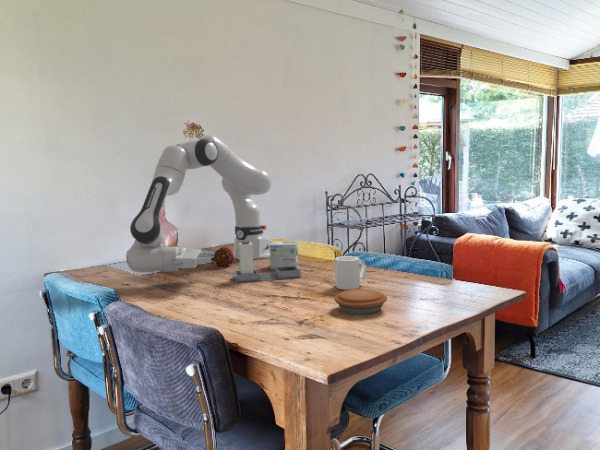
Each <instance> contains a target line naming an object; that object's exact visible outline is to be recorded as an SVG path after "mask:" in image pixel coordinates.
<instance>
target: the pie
mask: <svg viewBox="0 0 600 450" xmlns="http://www.w3.org/2000/svg"><path fill="white" fill-rule="evenodd" d="M333 299H334V301H335V302H336V304H338V306H339V308H340V309H341V311H343V313H346V314H350V315H371V314H372V315H373V314H375V313H379V311H380V310H381V309H382V307H383V305H384V304H385V303H386V302H387V300H388V297H387V295H385V294H383V293H382V292H380V291H378V290H372V289H364V288H363V289H361V288H360V289H359V288H356V289H348V290H343V291H341V292H340V293H338V294H337V295H335V296H334V297H333Z"/></svg>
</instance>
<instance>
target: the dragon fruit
mask: <svg viewBox="0 0 600 450" xmlns="http://www.w3.org/2000/svg"><path fill="white" fill-rule="evenodd" d="M233 253H234V251H232V249H230V248H228V247H225V246H222V247H220V248H219V249H217V250H215V251H214V253H213V257H212V258H211V262H215V265H216V266H218V267H221V266H222V267H228V266H229V265H233V262H234V260H235V258H234V255H233Z"/></svg>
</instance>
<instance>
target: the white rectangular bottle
mask: <svg viewBox="0 0 600 450" xmlns="http://www.w3.org/2000/svg"><path fill="white" fill-rule="evenodd" d="M238 261H239V270H240V275H242V274H254V269H255V268H254V259H253V244H252V243H251V242H249V241H242V243H239V259H238Z"/></svg>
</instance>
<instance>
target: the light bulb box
mask: <svg viewBox="0 0 600 450" xmlns="http://www.w3.org/2000/svg"><path fill="white" fill-rule="evenodd" d="M298 251H299V249H298V241H281V242H279V241H276V242H275V241H274V242H272V243H271V244H270V257H269V259H270V260H269V264H270V265H269V266H270V267H269V269H270V270H272V269H273V270H274V268H277V267H290V266H296V267H297V268H298V269H299V253H298Z"/></svg>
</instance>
